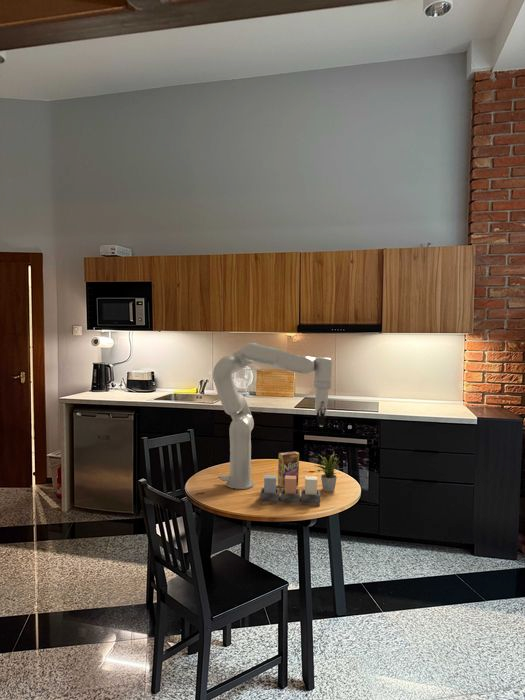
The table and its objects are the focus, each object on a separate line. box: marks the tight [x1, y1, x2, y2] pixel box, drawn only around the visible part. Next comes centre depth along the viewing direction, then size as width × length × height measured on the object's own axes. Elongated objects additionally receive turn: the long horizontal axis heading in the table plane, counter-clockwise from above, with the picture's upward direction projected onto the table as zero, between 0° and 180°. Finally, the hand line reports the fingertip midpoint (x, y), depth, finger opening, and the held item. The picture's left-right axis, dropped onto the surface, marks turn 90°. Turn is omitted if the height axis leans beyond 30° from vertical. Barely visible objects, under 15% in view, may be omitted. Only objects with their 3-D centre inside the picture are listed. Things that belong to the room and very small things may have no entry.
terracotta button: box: [284, 475, 297, 494], centre depth 209 cm, size 5×5×7 cm
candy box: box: [277, 451, 300, 488], centre depth 230 cm, size 9×4×15 cm, turn 115°
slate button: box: [263, 474, 277, 493], centre depth 210 cm, size 5×5×7 cm
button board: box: [259, 487, 321, 507], centre depth 209 cm, size 25×10×4 cm, turn 87°
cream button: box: [304, 475, 318, 495], centre depth 209 cm, size 5×5×7 cm
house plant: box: [313, 453, 343, 493], centre depth 226 cm, size 14×14×16 cm
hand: (320, 423), depth 224 cm, fingers open, 9 cm apart
